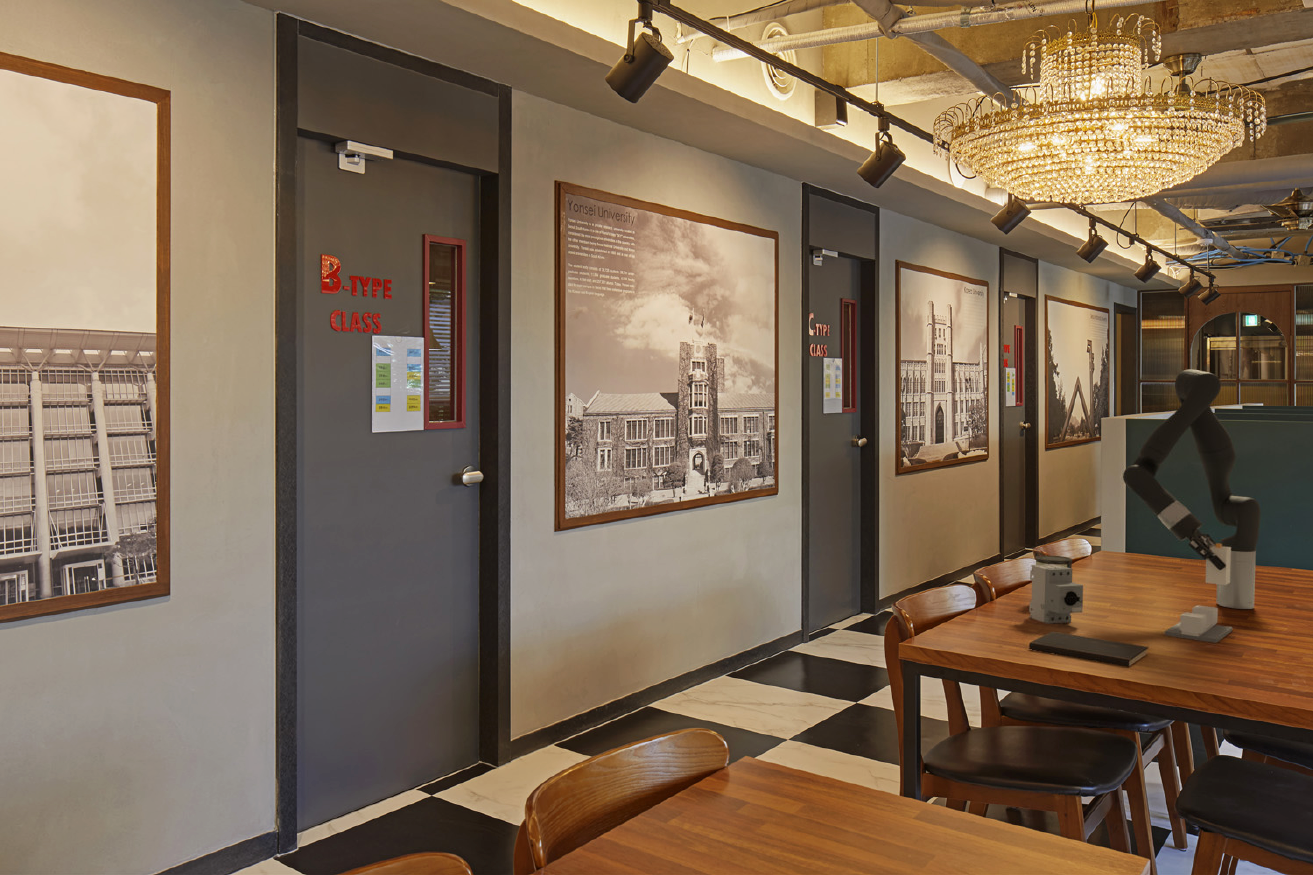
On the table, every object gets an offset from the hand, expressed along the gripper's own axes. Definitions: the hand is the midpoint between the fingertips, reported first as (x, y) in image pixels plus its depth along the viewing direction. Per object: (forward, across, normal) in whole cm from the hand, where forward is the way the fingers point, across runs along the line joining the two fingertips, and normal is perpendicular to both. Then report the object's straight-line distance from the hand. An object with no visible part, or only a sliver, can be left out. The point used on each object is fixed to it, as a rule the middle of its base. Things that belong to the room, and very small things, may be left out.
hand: (1225, 566), depth 269 cm
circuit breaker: (-13, -34, +35) cm, 50 cm away
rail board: (+10, -20, +12) cm, 25 cm away
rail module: (+2, 0, +5) cm, 5 cm away
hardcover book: (-1, -61, +23) cm, 65 cm away
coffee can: (-20, -10, +42) cm, 48 cm away
